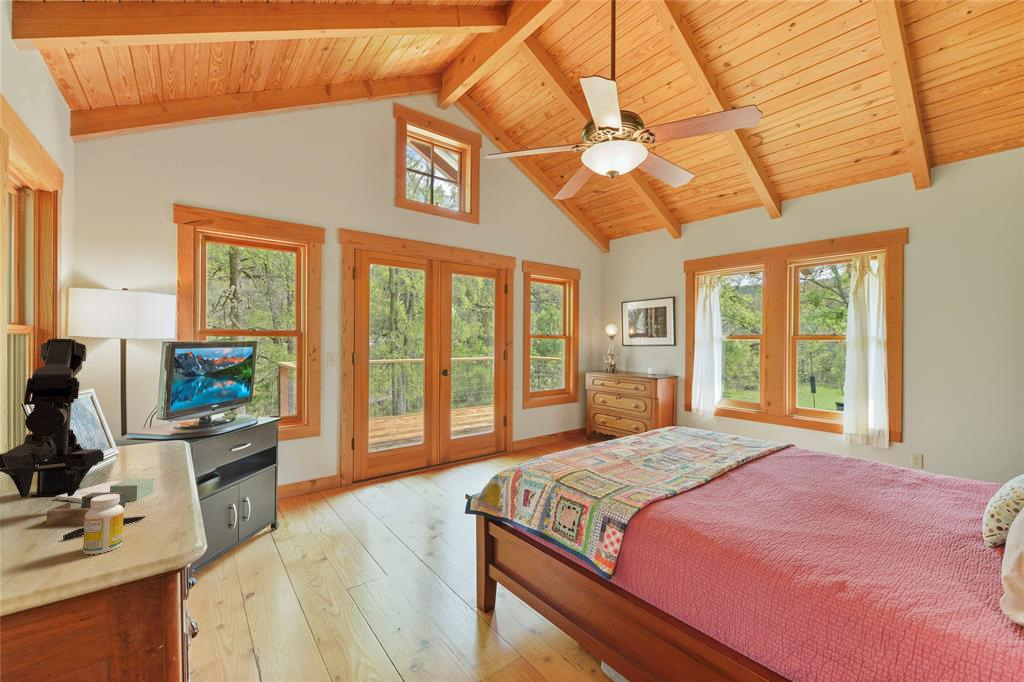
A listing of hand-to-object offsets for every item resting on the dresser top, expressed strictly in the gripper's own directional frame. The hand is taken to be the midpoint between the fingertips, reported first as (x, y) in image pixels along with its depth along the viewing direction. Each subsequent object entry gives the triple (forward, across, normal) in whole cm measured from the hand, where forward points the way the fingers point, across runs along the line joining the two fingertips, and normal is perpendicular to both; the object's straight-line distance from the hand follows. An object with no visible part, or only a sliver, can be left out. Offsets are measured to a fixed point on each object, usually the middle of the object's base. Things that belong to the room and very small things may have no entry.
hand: (47, 496), depth 99 cm
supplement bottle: (+4, +26, -21) cm, 34 cm away
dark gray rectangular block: (+3, +12, 0) cm, 12 cm away
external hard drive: (+4, +1, +13) cm, 14 cm away
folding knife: (+4, +21, -12) cm, 24 cm away
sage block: (+4, +12, +9) cm, 15 cm away
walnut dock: (+3, +12, -6) cm, 13 cm away
